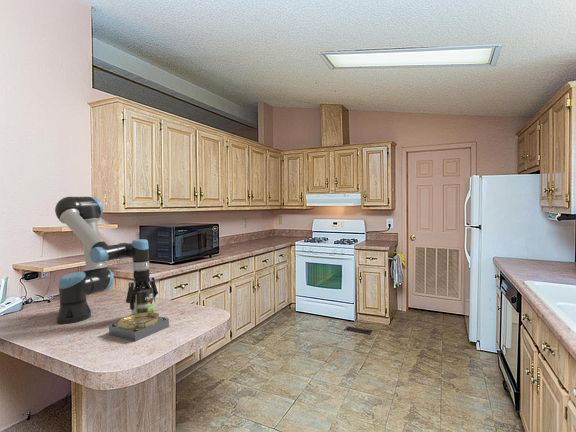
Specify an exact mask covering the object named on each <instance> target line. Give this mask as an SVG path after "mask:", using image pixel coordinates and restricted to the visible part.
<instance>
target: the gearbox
mask: <svg viewBox="0 0 576 432" xmlns="http://www.w3.org/2000/svg"><path fill="white" fill-rule="evenodd" d="M169 327H170V319H169V318H168V317H166V316H164V317H163V316H160V313H158V312H154V313H153V312H144V313H135V314H132V313H131V314H129V315H126V316H123V317H121V318H120V319H119V321H118V322H115V323H112V324H110V325H108V334H109V336H112V337H117V338H120V339H125V340H129V341H132V342H138V341H139V340H142V339H144V338H146V337H149V336H151V335H154V334H156V333H158V332H160V331H163V330H165V329H167V328H169Z"/></svg>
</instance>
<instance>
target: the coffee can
mask: <svg viewBox="0 0 576 432" xmlns="http://www.w3.org/2000/svg"><path fill="white" fill-rule="evenodd" d="M133 291H134V290H133ZM133 294H136V300H135V302H134V303H136V313H144V312H153V313H155V303H154V304H153V288H151V289H146V288H145V287H143V288H141V289H140V290H139V292H133Z"/></svg>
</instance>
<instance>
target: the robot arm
mask: <svg viewBox="0 0 576 432" xmlns="http://www.w3.org/2000/svg"><path fill="white" fill-rule="evenodd" d="M54 212H55V216H56V218H57V219H58V221H59V222H60V223H62V224H65V225H66V226H67V227H68V228H69V229H70V230H71V231H72V233H74V234H75V236H77V238H78V239H79V240H80V241H81V242H82V249H83V255H84V260H85V261H84V262H85V268H84V269H83V271H77V272H76V271H75V272H71V273H69V274H65V275H62V276H61V277H60V278H59V280H58V292H59V296H58V297H59V307H58V308H59V309H58V312H57V315H56V323H57V324H60V325H61V324H63V325H65V324H73V323H77V322H81V321H84V320H87V319H89V318H91V317H92V310H91V309H90V306H89V304H88V302H87V301H88V300H87V296H89V295H93V294H97V293H100V292H104V291H107V290H109V289H110V288H112V285H113V284H114V280H115V278H114V277H115V276H114V272H113V271H112V269H110V268H108V266H107V265H106V264H105V263H106V262H110V261H114V260H121V259H127V258H132V265H133V266H132V269H133V271H132V272H133V279H134V281H132V282H128V288H127V289H128V290H127V293H126V294H127V295H126V299H125V303H127V304H129V309H130V310H131V315H132V314H135V313H136V303H134V302H135V300H136V294H133V292H139V290H140V289H141V288H144V287H145V288H146V289H151V288H153V304H154V305H155V303H156V297H157V296H158V295H159V291H158V288H157V284H156V282H155V277H151V276H150V275H151V274H150V273H151V272H150V253H149V249H150V247H149V241H148V239H146V238H145V239H142V238H141V239H133V240H132V242H129V243H128V242H120V243H119V242H118V243H117V244H112V245H111V244H110V245H109V244H107V242H105V240H104V239H103V238H102V237H101V236H100V233H99V232H100V231H99V224H98V222H99V221H100V219H101V216H102V215H103V212H104V205H103V203H102V202H101V200H100V199H99V198H97V197H96V196H66V197H65V196H64V197H63V198H62V199H60V200H59V201H58V202H57V203H56V205H55V207H54ZM133 290H134V291H133Z"/></svg>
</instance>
